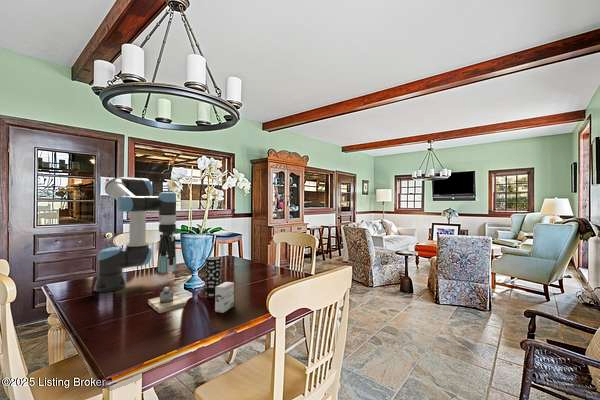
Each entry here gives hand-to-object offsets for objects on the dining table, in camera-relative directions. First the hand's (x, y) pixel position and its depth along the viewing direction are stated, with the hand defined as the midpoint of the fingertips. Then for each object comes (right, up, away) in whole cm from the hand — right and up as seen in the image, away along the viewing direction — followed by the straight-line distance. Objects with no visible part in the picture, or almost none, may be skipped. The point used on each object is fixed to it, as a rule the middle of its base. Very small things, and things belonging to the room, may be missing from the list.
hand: (167, 270), depth 135 cm
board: (0, -17, 0) cm, 17 cm away
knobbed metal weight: (0, -15, 0) cm, 15 cm away
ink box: (+29, -17, -4) cm, 35 cm away
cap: (0, 0, 0) cm, 0 cm away
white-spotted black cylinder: (+18, -17, +14) cm, 29 cm away
